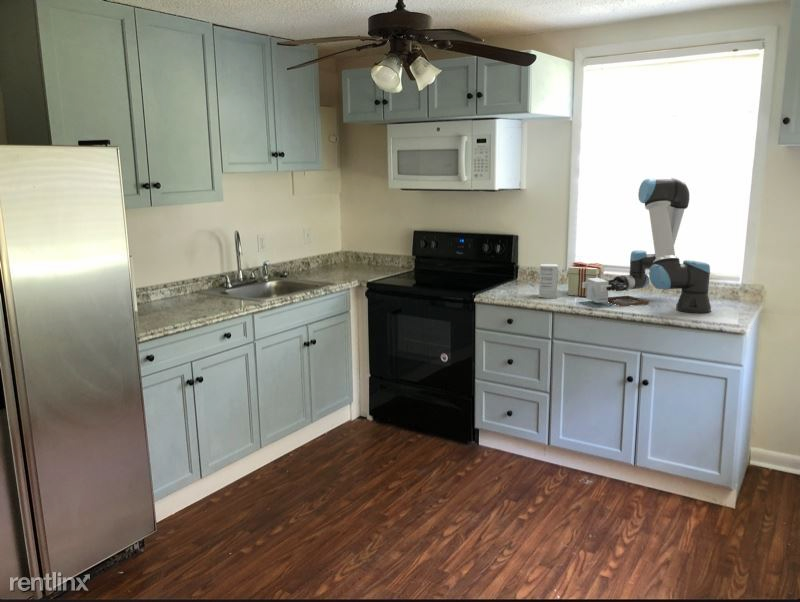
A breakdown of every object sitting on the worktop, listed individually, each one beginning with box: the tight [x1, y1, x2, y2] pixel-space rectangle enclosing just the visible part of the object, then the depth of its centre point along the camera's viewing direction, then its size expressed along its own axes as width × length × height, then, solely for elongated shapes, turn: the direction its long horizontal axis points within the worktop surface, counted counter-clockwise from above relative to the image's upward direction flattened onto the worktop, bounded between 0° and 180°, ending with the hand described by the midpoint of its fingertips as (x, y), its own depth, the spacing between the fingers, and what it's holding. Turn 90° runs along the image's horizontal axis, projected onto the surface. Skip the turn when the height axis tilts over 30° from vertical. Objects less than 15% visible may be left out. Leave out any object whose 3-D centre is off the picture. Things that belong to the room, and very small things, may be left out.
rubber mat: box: [578, 300, 615, 308], centre depth 332 cm, size 12×12×1 cm
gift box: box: [567, 261, 605, 298], centre depth 358 cm, size 17×18×17 cm
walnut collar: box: [607, 295, 650, 307], centre depth 336 cm, size 16×16×2 cm
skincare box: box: [586, 278, 609, 303], centre depth 331 cm, size 10×6×10 cm, turn 12°
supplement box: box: [538, 263, 559, 299], centre depth 352 cm, size 10×9×17 cm
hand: (591, 287), depth 329 cm, fingers closed on skincare box, 11 cm apart
